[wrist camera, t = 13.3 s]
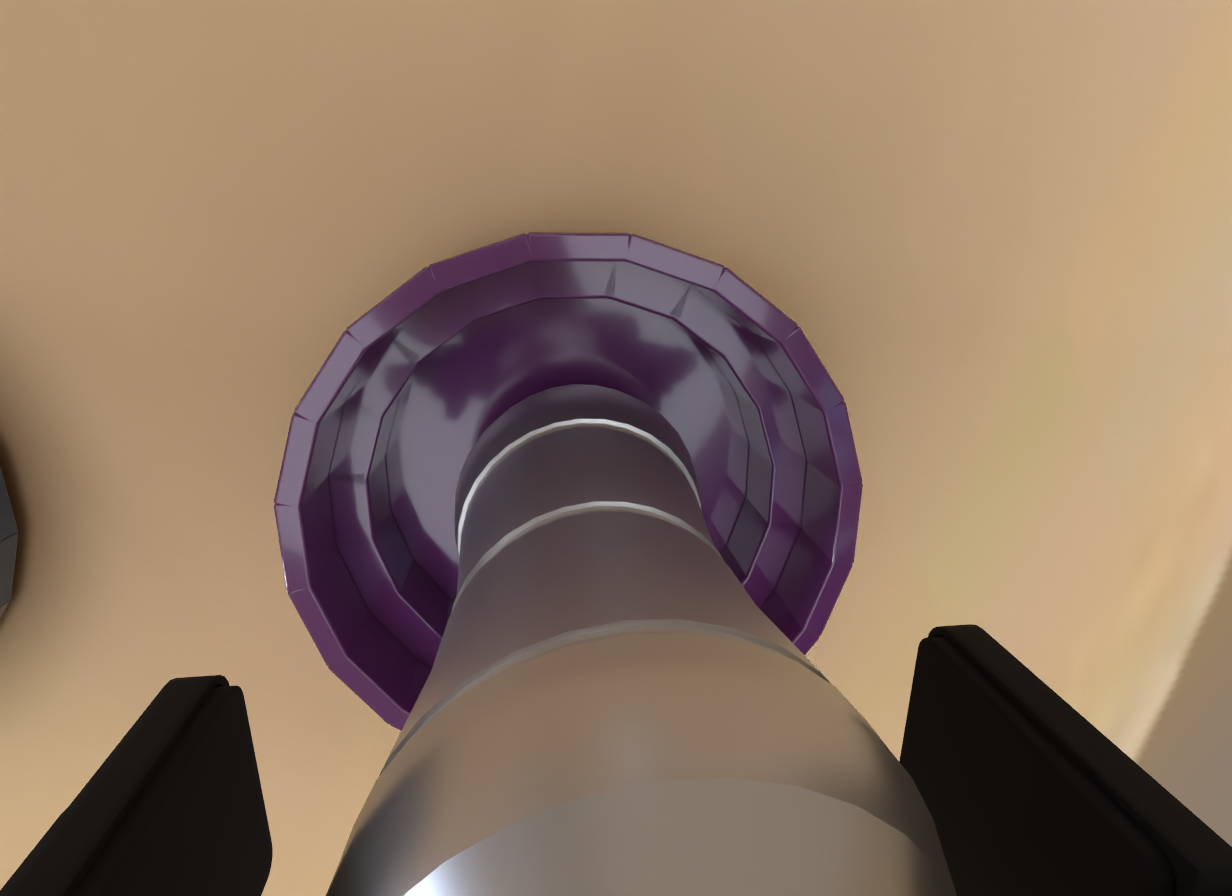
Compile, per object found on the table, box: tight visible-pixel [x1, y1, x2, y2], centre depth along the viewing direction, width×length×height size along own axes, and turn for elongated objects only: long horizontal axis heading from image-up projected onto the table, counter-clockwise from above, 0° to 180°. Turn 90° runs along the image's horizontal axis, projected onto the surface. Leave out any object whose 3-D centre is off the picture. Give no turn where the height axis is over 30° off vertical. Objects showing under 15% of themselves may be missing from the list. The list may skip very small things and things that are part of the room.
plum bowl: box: [274, 232, 863, 731], centre depth 19 cm, size 14×14×5 cm
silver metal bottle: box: [326, 384, 957, 896], centre depth 11 cm, size 6×7×20 cm
